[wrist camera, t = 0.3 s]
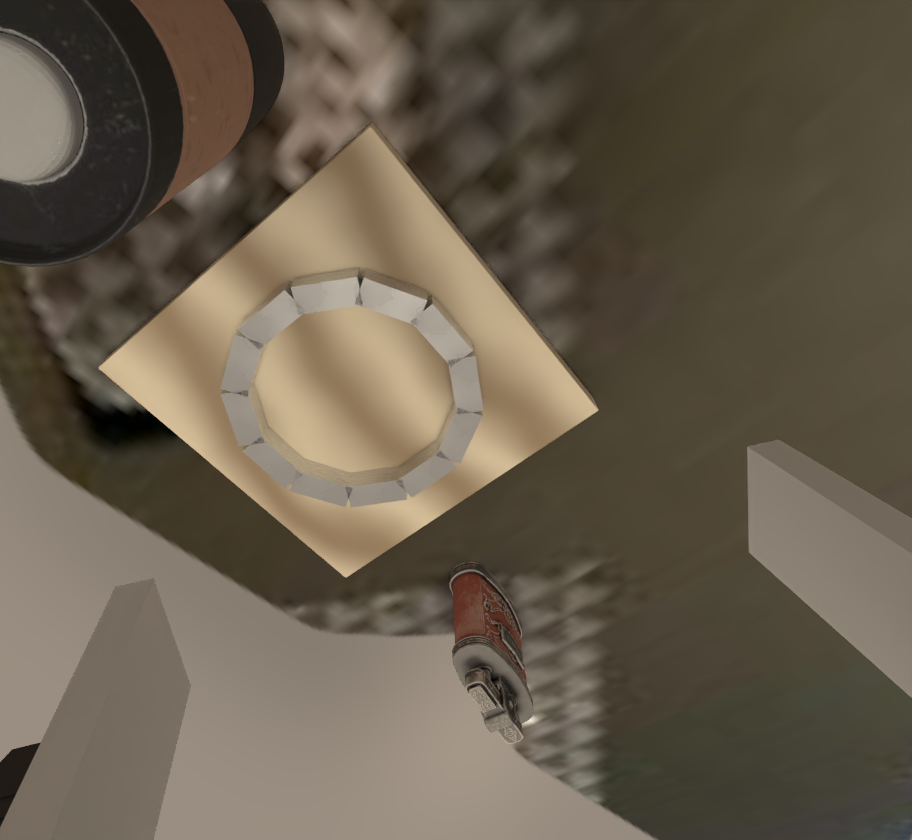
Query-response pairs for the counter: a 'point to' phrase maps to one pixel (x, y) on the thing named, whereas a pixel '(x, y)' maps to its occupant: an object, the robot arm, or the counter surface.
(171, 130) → the travel mug
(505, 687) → the lighter
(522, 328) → the dock board
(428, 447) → the dock collar
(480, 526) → the counter surface
